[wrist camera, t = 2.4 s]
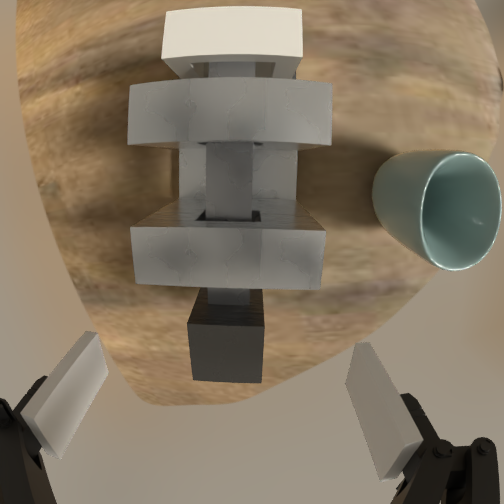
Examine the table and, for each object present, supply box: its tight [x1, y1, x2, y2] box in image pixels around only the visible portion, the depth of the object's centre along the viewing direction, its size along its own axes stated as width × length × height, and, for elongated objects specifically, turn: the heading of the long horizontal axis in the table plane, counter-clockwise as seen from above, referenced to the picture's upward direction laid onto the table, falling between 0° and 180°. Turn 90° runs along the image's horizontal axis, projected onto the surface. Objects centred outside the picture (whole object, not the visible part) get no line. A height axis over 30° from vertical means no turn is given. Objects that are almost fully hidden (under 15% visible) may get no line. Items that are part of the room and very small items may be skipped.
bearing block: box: [128, 77, 332, 290], centre depth 18 cm, size 11×9×11 cm
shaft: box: [187, 61, 265, 383], centre depth 16 cm, size 21×4×7 cm, turn 179°
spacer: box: [161, 6, 303, 79], centre depth 15 cm, size 3×7×7 cm, turn 89°
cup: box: [372, 149, 502, 271], centre depth 19 cm, size 8×8×10 cm
